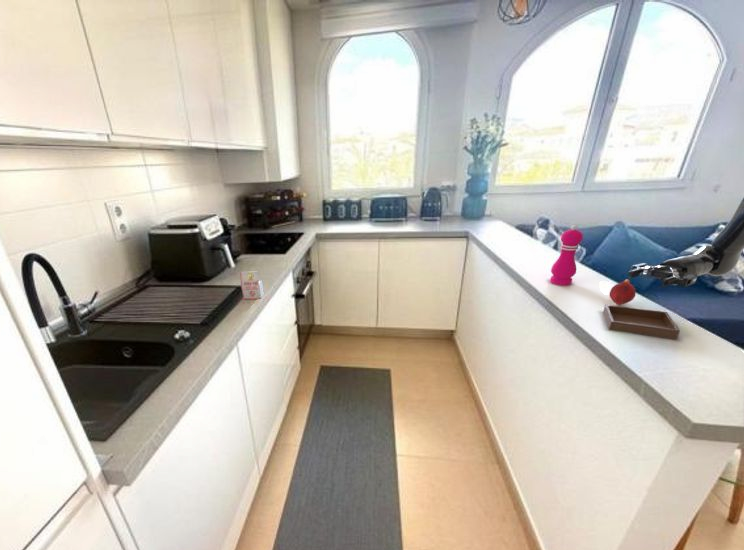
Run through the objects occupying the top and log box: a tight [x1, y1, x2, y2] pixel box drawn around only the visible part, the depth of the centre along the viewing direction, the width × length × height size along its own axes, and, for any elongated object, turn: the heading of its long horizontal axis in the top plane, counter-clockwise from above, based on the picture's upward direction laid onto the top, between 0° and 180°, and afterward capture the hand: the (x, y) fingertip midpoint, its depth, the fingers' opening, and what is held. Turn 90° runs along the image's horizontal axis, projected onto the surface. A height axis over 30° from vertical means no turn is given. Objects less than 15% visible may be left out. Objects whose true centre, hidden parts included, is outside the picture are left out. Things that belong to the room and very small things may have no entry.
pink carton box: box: [239, 270, 265, 300], centre depth 125 cm, size 4×7×10 cm, turn 85°
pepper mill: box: [549, 224, 584, 286], centre depth 116 cm, size 7×7×20 cm
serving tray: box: [602, 304, 681, 340], centre depth 91 cm, size 13×11×2 cm
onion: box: [609, 279, 637, 306], centre depth 100 cm, size 6×6×8 cm
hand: (646, 278), depth 102 cm, fingers open, 8 cm apart
